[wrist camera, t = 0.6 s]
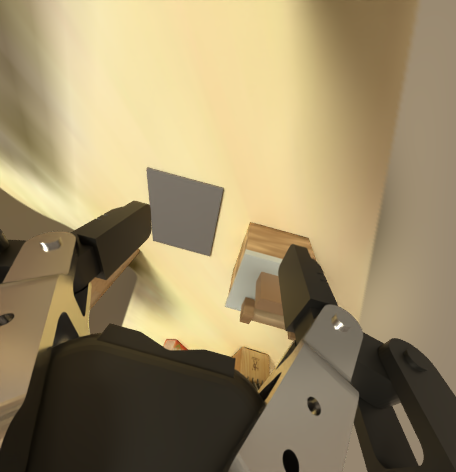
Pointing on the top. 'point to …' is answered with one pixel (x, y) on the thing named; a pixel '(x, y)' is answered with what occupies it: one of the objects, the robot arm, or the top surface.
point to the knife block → (252, 366)
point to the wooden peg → (259, 315)
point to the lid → (257, 283)
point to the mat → (183, 211)
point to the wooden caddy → (270, 246)
